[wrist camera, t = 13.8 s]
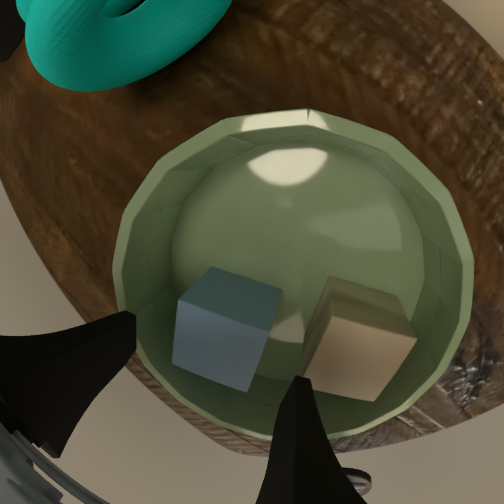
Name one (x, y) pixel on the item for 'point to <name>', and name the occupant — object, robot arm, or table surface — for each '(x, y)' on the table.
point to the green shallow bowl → (295, 254)
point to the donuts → (112, 38)
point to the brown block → (355, 341)
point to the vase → (10, 28)
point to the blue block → (224, 327)
